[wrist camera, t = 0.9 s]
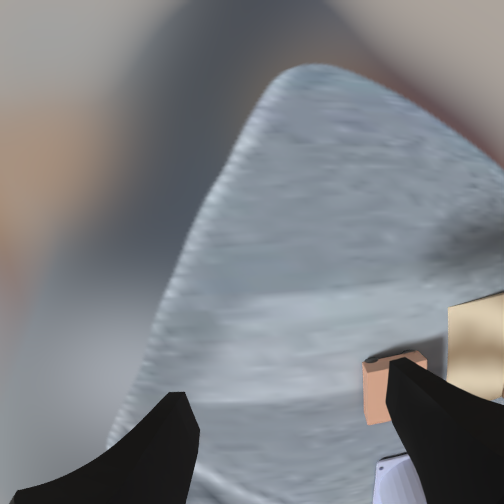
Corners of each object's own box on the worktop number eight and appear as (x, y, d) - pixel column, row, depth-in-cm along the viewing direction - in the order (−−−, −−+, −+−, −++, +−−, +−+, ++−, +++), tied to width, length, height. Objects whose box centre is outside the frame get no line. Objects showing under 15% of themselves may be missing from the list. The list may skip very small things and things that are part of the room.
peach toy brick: (414, 397, 22) (424, 412, 19) (363, 408, 23) (368, 425, 20) (415, 348, 22) (427, 359, 19) (361, 359, 23) (367, 372, 20)
